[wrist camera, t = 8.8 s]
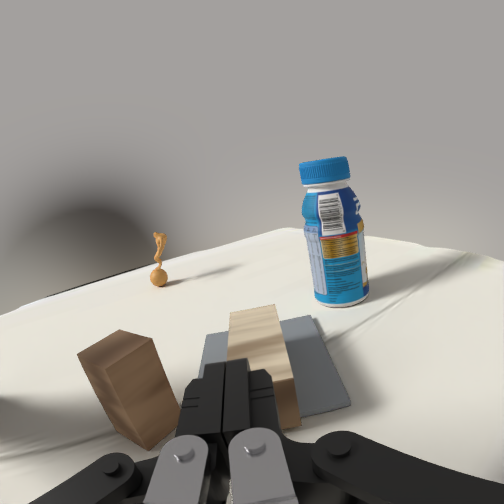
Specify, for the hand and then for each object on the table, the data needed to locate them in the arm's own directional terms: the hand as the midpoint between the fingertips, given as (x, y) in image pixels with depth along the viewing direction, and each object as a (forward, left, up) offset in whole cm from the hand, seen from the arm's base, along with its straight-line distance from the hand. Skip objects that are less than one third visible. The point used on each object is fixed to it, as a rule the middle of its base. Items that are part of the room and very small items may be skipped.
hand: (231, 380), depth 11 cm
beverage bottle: (-19, +30, -13) cm, 38 cm away
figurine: (-58, +18, -13) cm, 62 cm away
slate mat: (-16, +12, -13) cm, 23 cm away
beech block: (-7, +5, -10) cm, 13 cm away
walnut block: (-16, -2, -13) cm, 21 cm away
